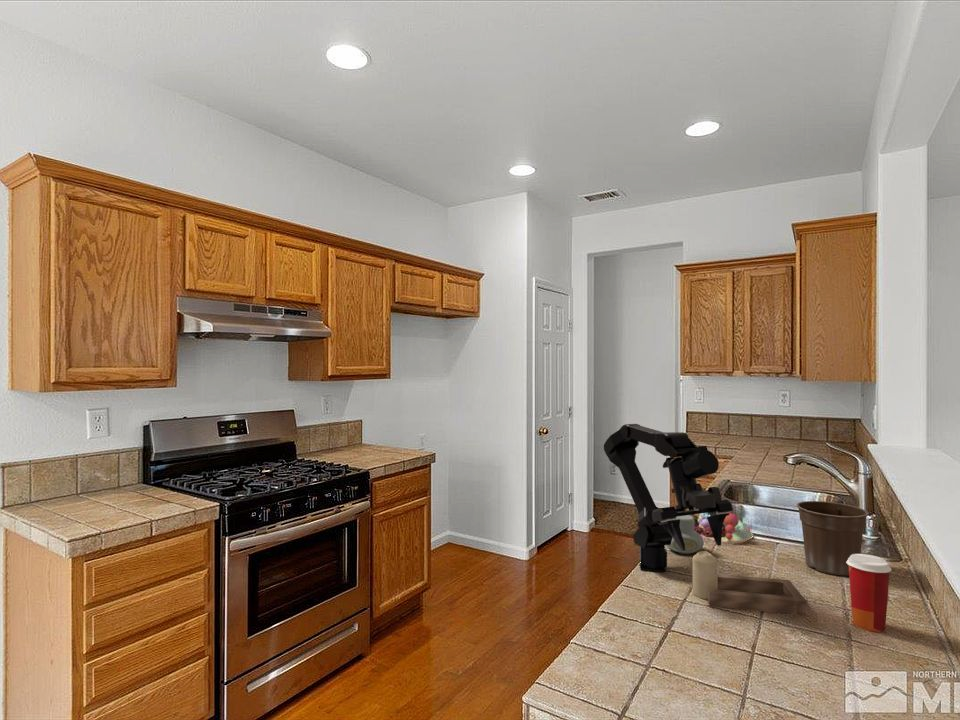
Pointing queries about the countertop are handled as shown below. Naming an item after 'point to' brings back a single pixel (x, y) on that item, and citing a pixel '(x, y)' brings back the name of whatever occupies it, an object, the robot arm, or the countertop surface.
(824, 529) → the plant pot
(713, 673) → the countertop surface
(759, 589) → the u rest
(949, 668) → the countertop surface
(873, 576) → the paper cup
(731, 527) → the candy landscape model
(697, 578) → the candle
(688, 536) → the air freshener
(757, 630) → the countertop surface
